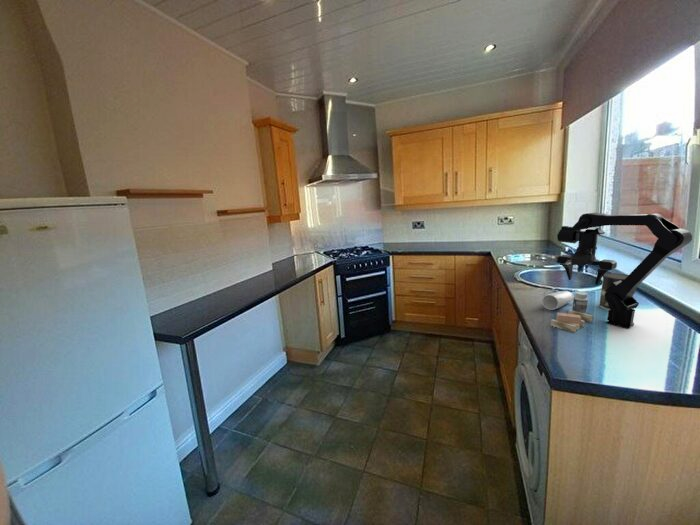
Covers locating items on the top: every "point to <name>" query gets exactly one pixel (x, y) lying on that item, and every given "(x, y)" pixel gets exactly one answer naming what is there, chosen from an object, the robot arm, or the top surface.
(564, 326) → the offcut rack
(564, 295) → the drinking glass
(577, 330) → the lower offcut
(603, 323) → the top surface
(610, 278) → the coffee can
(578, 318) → the upper offcut
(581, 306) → the pill bottle
